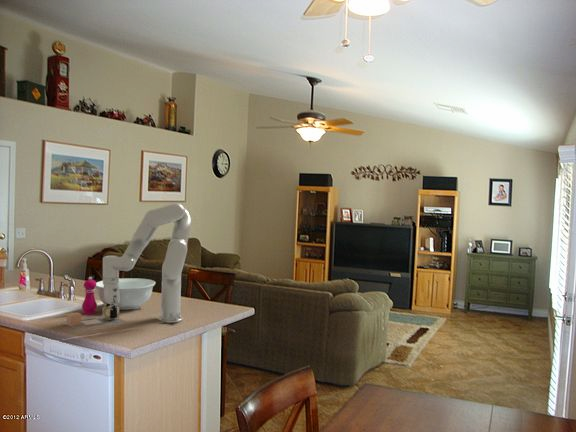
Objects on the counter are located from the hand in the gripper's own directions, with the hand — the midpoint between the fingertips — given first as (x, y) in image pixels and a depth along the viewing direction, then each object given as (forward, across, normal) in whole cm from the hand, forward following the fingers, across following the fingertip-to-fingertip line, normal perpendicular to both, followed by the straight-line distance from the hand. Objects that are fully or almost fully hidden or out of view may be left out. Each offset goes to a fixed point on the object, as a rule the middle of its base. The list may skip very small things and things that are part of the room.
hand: (110, 316), depth 240 cm
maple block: (+1, 0, 0) cm, 1 cm away
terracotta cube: (+1, 0, +18) cm, 18 cm away
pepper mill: (+3, +19, +4) cm, 20 cm away
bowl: (+3, +23, -17) cm, 29 cm away
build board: (+2, 0, +8) cm, 8 cm away
